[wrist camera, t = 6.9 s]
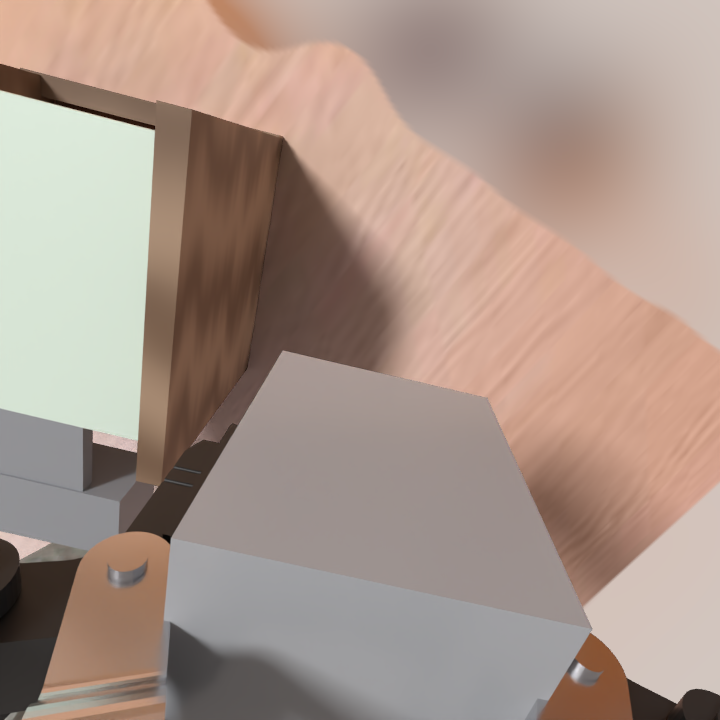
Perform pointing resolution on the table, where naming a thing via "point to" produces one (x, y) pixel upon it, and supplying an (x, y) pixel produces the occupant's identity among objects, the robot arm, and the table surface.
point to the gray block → (365, 562)
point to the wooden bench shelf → (188, 258)
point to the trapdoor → (71, 319)
